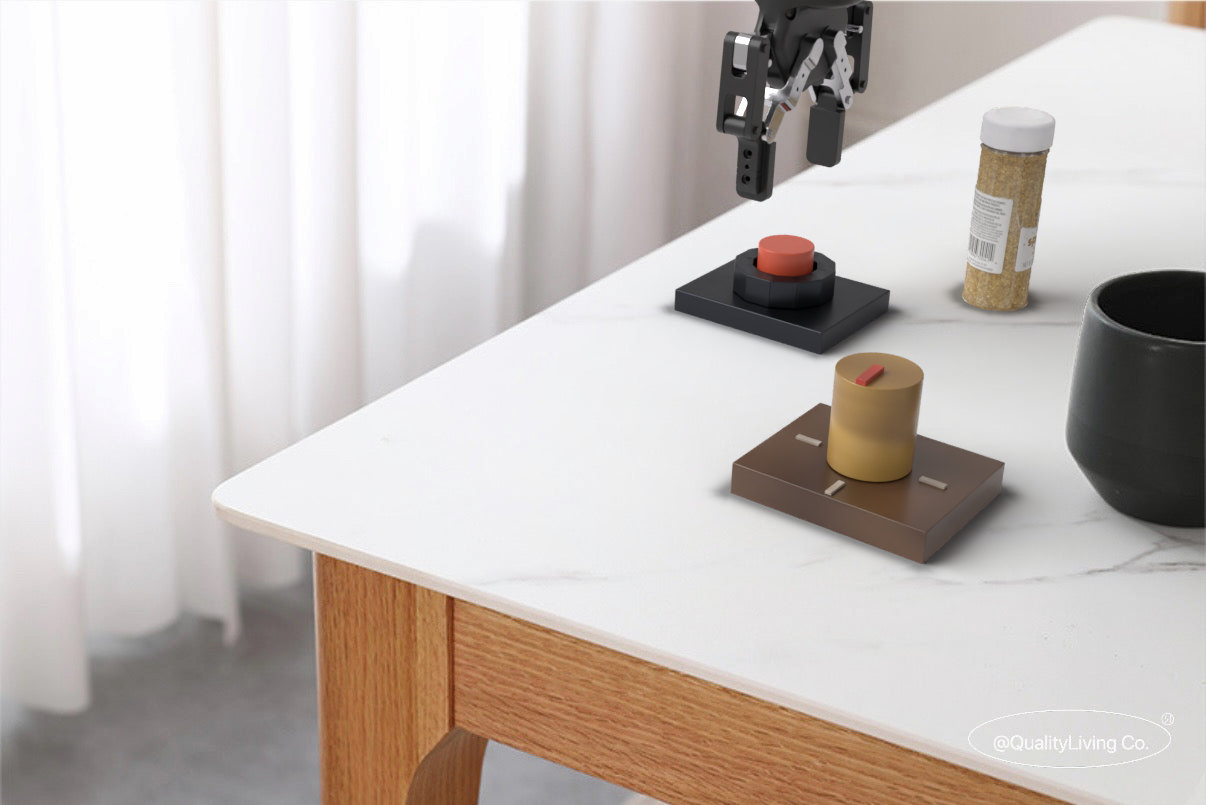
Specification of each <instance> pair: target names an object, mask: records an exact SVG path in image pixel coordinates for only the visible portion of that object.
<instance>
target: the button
mask: <svg viewBox="0 0 1206 805" xmlns="http://www.w3.org/2000/svg"><path fill="white" fill-rule="evenodd" d="M757 248H758V260H757V269H759V270H760V271H763V272H766V273H770V274H774V275H778V276H800V275H807V274H810V273H811V272H812V271H813V262H814V251H815V248H816V247H815V244H814V242H813V241H811V240H809V239H808V238H805V237H802V236H798V235H792V234H775V235H774V234H773V235H768V236H765V237H763V238H761V239H760V240H759V241H758V247H757Z"/></svg>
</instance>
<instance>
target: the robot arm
mask: <svg viewBox="0 0 1206 805" xmlns="http://www.w3.org/2000/svg"><path fill="white" fill-rule="evenodd" d="M754 2H755V3H756V5H757V6H758V10H759V11H758V16H757V21H756V23H755V27H754V29H753V32H748V33H747V32H743V31H742V32H740V31H739V32H738V31H734V30H729V31H728V32H726V34H725V35H724V38H723V46H722V55H721V56H722V57H721V66H720V77H719V78H720V79H719V87H718V99H717V111H716V122H715V127H716V131H717V132H718V133H720V134H724V135H731V136H734V137H736V139H737V144H738V146H737V158H736V159H737V160H736V174H735V175H736V176H735V191H736V194H737V195H738V196H739V197H740V198H743V199H747V200H750V201H754V202H759V203H763V202H765V201H767V200H769V199H770V198H771V197H772V196H773V190H774V179H775V178H774V176H775V166H776V154H777V153H776V151H777V141H775V139H776V137H777V135H778V132H779V130H780V127H781V125H782V122H783V120H784V117H785V115H786V114H787V113H788V112H791V111H794V109H796V107H797V105H798V103H799V100H800V99H801V98H800V97H801V95H802V93H804V92H806V91H808V94H809V96H810V99H811V101H812V103H815V104H813V105H811V106H810V107H809V115H808V116H809V118H808V127H807V128H808V129H807V141H806V153H805V157H806V160H807V161H808V162H809V163H810V164H813V165H817V166H821V167H826V168H833V167H835V166H838V165H839V164H840V163H841V162H842V153H843V143H844V142H843V141H844V133H845V132H844V131H845V122H846V121H845V120H846V110H849V109H851V107H852V105H853V103H854V95H855V94H856V93H857V94H863V93H865V92H866V90H867V87H868V82H869V69H870V56H871V46H872V45H871V43H872V31H873V16H874V3H873V1H872V0H754ZM849 56H850V57H852V58H853V68H852V66H851V62H850V59H849ZM767 84H768V85H769V87H768V86H767ZM737 97H740V98H742V100H741V102H740V104H739V107H738V109H737V112H736V114H735V111H736V102H737ZM765 107H769V108H768V109H767V110H768V111H767V113H766V115H765V118H764V110H765V109H764V108H765ZM763 119H764V120H763Z"/></svg>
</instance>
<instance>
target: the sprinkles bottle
mask: <svg viewBox="0 0 1206 805" xmlns="http://www.w3.org/2000/svg"><path fill="white" fill-rule="evenodd" d="M1055 130H1056V118H1055V117H1054V116H1053V115H1052V114H1051V113H1049V112H1046V111H1044V110H1040V109H1038V108H1037V109H1036V108H1032V107H1026V106H997V107H992V108H990V109H987V110H986V111H985V112H984V113H983V116H982V121H981V127H980V134H979V140H980V142H981V143H980V145H979V146H980V149H981V150H980V156H979V162H978V172H977V178H976V184H975V186H974V194H973V202H972V209H971V218H970V226H969V232H968V233H969V234H968V241H967V250H966V267H965V273H964V274H965V275H964V284H963V291H962V292H961V293H962V294H961V297H962V298H963V301H964V302H966V303H967V304H969V305H971V306H973V307H975V308H979V309H982V310H986V311H993V312H1014V311H1019V310H1021V309H1024V308H1026V307H1027V306H1028V304H1029V301H1028V297H1029V296H1028V295H1029V290H1030V289H1029V288H1030V280H1031V276H1032V275H1031V274H1032V267H1033V266H1034V261H1035V253H1036V244H1037V237H1038V230H1039V223H1040V216H1041V209H1042V202H1043V198H1042V196H1043V189H1044V182H1045V177H1046V170H1047V169H1046V168H1047V164H1048V163H1047V162H1048V161H1047V159H1048V155H1049V153H1050V150H1051V148H1052V147H1053V144H1054V139H1055Z"/></svg>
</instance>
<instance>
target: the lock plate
mask: <svg viewBox="0 0 1206 805" xmlns="http://www.w3.org/2000/svg"><path fill="white" fill-rule="evenodd" d="M830 416H831V405H830V404H826V403H823V402H819V403H817V404H815V405H814V406H813V407H811V408H810V409H809V410H807V411H806V412H804V413H803V414H801V415H800V416H798V417H797V418H795V419H793V420H792V421H791V422H790V423H788V424H787V425H785V426H784V427H782V428H781V429H779V430H778V431H777V432H775V433H773V434H772V435H771V436H769V437H768V438H766V439H765V440H763V441H761V442H760V443H759V444H757V445H756V446H755V447H753V448H752V449H750V450H749V451H747V452H746V453H745V454H743V455H741V456H740V457H739V458H737V459H736V460H734V461H732V465H731V480H730V494H733V495H736V496H737V497H738V496H739V497H740V498H744V499H746V500H749V501H752V502H754V503H756V504H759V505H762V506H764V507H767V508H770V509H773V510H776V511H778V512H781V513H783V514H786V515H789V516H791V517H795V518H797V519H799V520H802V521H805V522H808V523H811V524H813V525H816V526H819V527H821V528H823V529H827V530H829V531H832V532H835V533H837V534H840V535H842V536H845V537H848V538H851V539H854V540H856V541H858V542H861V543H864V544H867V545H869V546H872V547H875V548H877V549H880V550H883V551H885V552H888V553H891V554H894V555H896V556H899V557H901V558H905V559H907V560H909V561H912V562H914V563H917V564H920V565H924V564H925V563H926V562H927V561H929V559H930V558H931V557H933V555H935V554H936V553H937V552H938V551H939V550H940V549H941V548H942V547H943V546H945V545H946V544H947V543H948V542H949V541H950V540H951V539H952V538H953V537H954V536H956V534H957V533H959V532H960V531H961V530H962V529H963V528H964V527H965V526H966V525H967V524H968V523H970V522H971V521H972V520H973V519H974V518H975V517H976V516H977V515H978V514H979V513H981V511H982V510H984V509H985V508H986V507H987V506H988V505H989V504H990V503H991V502H992V501H993V500H994V499H996V498H997V497H998V496H999V495H1000V494H1001V492H1002V486H1003V480H1004V473H1005V466H1006V462H1005V461H1001V460H999V459H996V458H993V457H989V456H987V455H983V454H980V453H977V452H974V451H971V450H967V449H965V448H962V447H959V446H956V445H953V444H949V443H947V442H943V441H940V440H937V439H935V438H934V439H933V438H931V437H928V436H924V435H921V434H918V433H917V436H916V444H915V452H914V461H913V467H912V470H911V471H910V472H909V473H908V474H907V475H906V476H904V477H902V478H900V479H897V480H893V481H886V482H869V481H862V480H857V479H853V478H850V477H847V476H845V475H842V474H840V473H839V472H837V471H835V470H834V469H833V468H832V467H831V466H830V465H829V463H828V461H827V447H828V437H829V426H830Z"/></svg>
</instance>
